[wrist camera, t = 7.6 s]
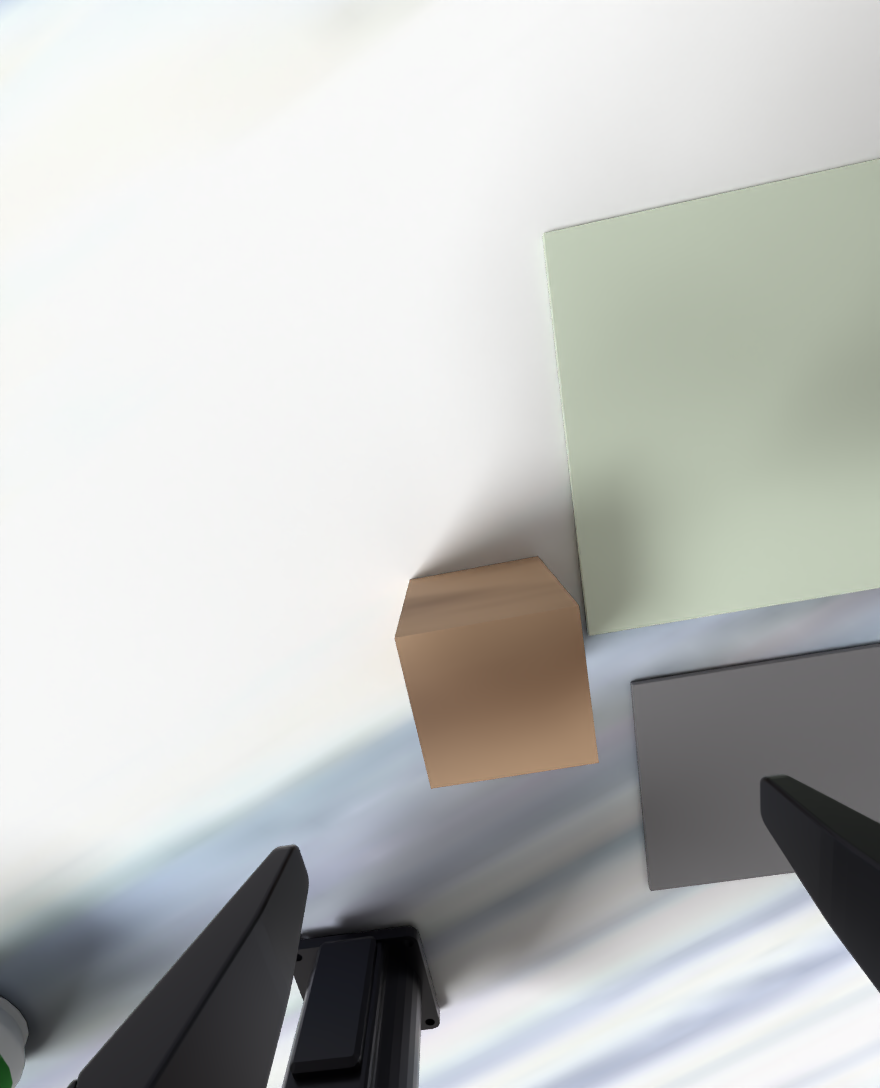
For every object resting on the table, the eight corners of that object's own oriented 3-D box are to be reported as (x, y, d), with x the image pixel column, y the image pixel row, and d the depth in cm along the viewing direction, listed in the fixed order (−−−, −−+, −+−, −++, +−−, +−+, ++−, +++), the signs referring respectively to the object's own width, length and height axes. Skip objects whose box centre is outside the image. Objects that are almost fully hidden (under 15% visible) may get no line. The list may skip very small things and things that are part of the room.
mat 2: (892, 854, 19) (896, 859, 18) (648, 886, 19) (650, 890, 19) (911, 638, 16) (917, 640, 16) (630, 682, 17) (632, 685, 17)
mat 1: (958, 571, 15) (965, 573, 15) (587, 633, 16) (589, 635, 16) (1008, 132, 12) (1018, 127, 12) (542, 236, 13) (543, 233, 13)
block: (554, 670, 17) (598, 762, 12) (435, 690, 17) (430, 788, 12) (537, 555, 16) (578, 605, 11) (409, 579, 16) (394, 638, 11)
